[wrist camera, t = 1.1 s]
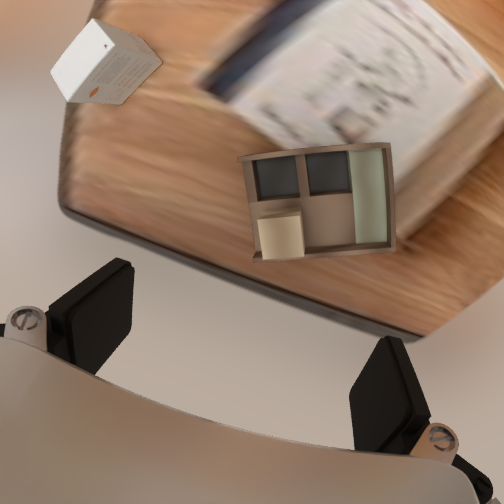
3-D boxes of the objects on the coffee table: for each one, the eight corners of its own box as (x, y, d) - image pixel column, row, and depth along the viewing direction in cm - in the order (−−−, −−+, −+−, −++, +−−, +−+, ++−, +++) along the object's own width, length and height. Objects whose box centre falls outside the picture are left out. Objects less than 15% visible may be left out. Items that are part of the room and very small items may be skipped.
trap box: (380, 142, 30) (390, 142, 26) (386, 238, 34) (395, 251, 29) (246, 155, 33) (236, 157, 29) (260, 248, 37) (253, 262, 33)
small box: (142, 37, 30) (93, 15, 20) (164, 63, 31) (116, 43, 21) (101, 80, 33) (47, 71, 23) (120, 106, 34) (66, 102, 24)
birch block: (301, 206, 32) (299, 215, 28) (305, 243, 33) (304, 256, 29) (263, 210, 33) (257, 219, 29) (268, 246, 34) (262, 259, 30)
